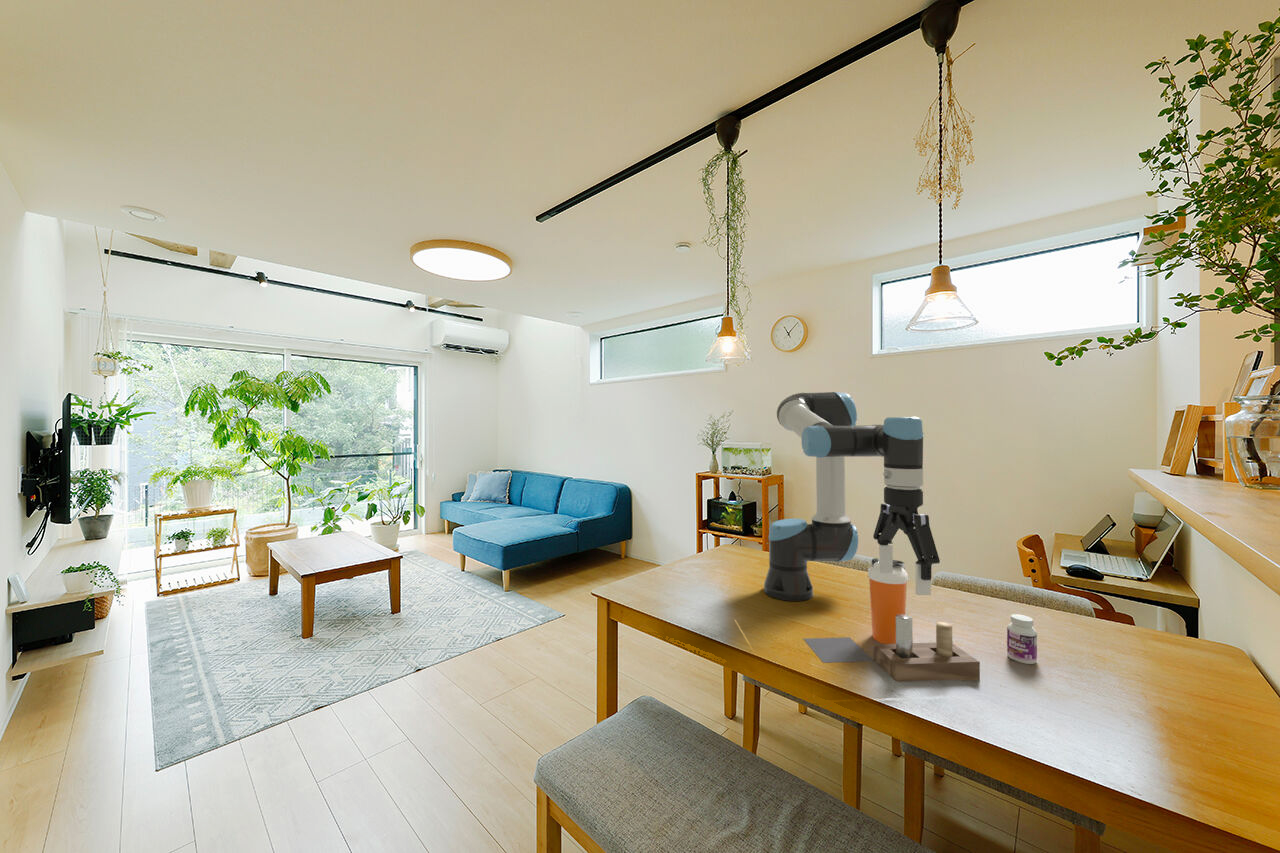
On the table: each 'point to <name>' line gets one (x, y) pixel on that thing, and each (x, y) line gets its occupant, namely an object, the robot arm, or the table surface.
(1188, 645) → the table surface
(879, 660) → the hole block
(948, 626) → the dowel
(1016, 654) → the pill bottle
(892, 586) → the shaker bottle
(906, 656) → the peg
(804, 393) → the robot arm
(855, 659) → the mat
